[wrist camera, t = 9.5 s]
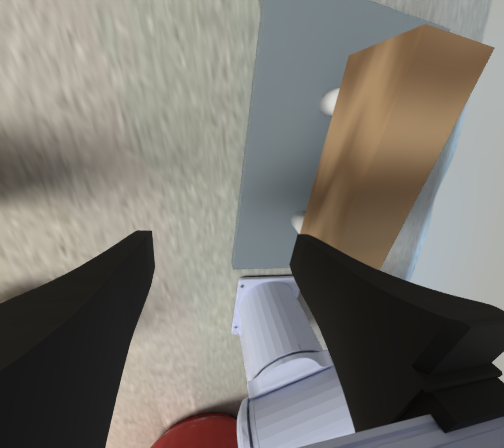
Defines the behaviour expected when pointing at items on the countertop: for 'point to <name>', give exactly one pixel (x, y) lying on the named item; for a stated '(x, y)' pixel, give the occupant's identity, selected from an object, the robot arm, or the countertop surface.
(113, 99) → the countertop surface
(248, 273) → the countertop surface
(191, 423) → the mixing bowl
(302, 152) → the peg rack
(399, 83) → the wooden block
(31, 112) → the countertop surface
